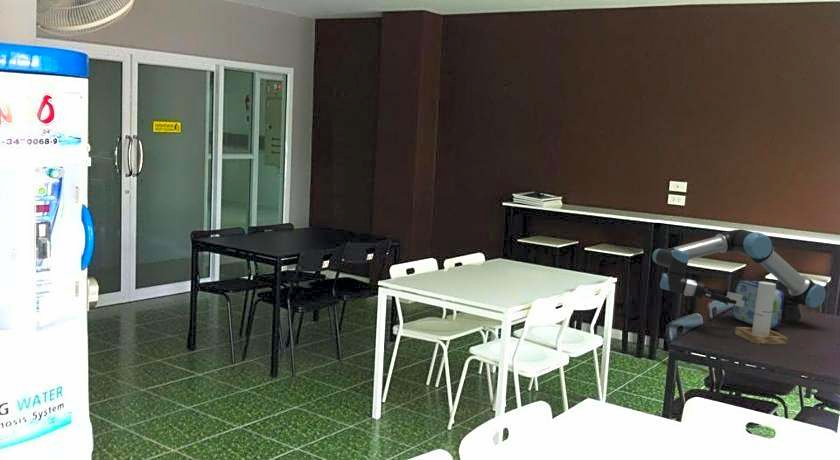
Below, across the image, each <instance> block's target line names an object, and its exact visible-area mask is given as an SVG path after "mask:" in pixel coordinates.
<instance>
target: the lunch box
mask: <svg viewBox="0 0 840 460" xmlns="http://www.w3.org/2000/svg"><path fill="white" fill-rule="evenodd" d="M759 282H760V281H756V280H740V281H739V282H737V285H736V287H735V291H734V293H735V294H739V295H742V299H741V300H742V301H745V302H744V305H743V307H740V306H736V305H732V315H733V317H734V319H736V320H738V321H740V322H743V323H746V324H747V325H750V326H753V321H754V314H755V306H756V299H757V291H758V284H759ZM783 301H784V294H783V292H782V291H781V290H779V289H777V288H775V296H774V303H773V310H772V317H771V325H770V330H777V329H778V327H779V325H780V324H781V323H782V322H781V316H782V308H783Z"/></svg>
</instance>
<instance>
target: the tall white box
mask: <svg viewBox="0 0 840 460" xmlns="http://www.w3.org/2000/svg"><path fill="white" fill-rule="evenodd" d="M758 282H759V284H758V291H757V299H756V306H755V314H754V321H753V325H752V327H751V328H752V334H753V335H758V336H769V332H770V330H771V329H770V325H771V317H772V310H773V303H774V296H775V288H776V284H777V283H774V282H770V281H758Z"/></svg>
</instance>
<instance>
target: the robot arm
mask: <svg viewBox="0 0 840 460" xmlns="http://www.w3.org/2000/svg"><path fill="white" fill-rule="evenodd" d="M772 244H773V243H772V240H771V239H770V237H769V236H768V235H766V234H764V233H761V232H756V231H751V230H746V229H742V228H741V229H733V230H729V231H724V232H721V233H718V234H716V235H715V236H713V237H710V238H705V239H702V240H698V241H697V240H696V241H693V242H690V243H685V244H682V245H679V246H674V247H671V248H670V247H669V248H665V249H664V248H657V249H655V250H653V253H652V261H653V262H654V263H655V264H657V265H658V266H663V267H666V268H668V270H667V272H663V273H662V275H661V279H660V282H659V288H660V289H662V290H665V291H669V292H672V293H677V294H681V295H684V296H685V297H688V296H689V297H693V298H695V299H699V300H701V299H702V298H703V296H704V297H705V298H706V299H707V298H708V299H710V300H714V301H717V302H719V303H723V304H724V305H726V306H728V304H729V305H732V306H733V305H736V306H740V307H743V305H744V302H745V301H742V300H741V299H742V295H739V294H735V292H734V293H733V292H730V291H729V290H728V289H721V288H720V289H719V288H713V287H709V286H706V283H705V282H704V281H703V282H702V281H697V280H694V279H690V278H686V277H685V273H686V270H687V267H688V264H689V260H692V259H693V260H694V259H697V258H701V257H705V256H709V255H713V254H717V253H721V254H724V253H736V254H740V255H744V256H746V257H747V258H748V259H750V260H751V261H752V262H753V263H754V264H760V265H761V266H762V267H763V268H764V269H766V270H767V271H768V272H769V273H770V274H771V275H772V276H774V277H775V278H776V279H777V281H776V283H775V284H776V288H777V289H779V290H781V291H782V292H783V294H784V301H783V308H782V316H781V322H780V323H788V324H800V323H801V322H802V315H801V309H800V305H802V306H806V307H807V308H812V309H813V308H814V309H815V308H818V307H820V306H821V305H822V304H823V303H824V301H825V300H826V295H827V293H826V292H827V291H826V288H825V287H824V286H823V285H821V284H820V283H815V282H814V281H813V280H812V279H810V278H809V277H808V276H807V275H803V274H800V273H799V272H798V271H797V270H796V269H795V268H793V267H792V266H791V264H790V263H788V262H787V261H786V260H785V259H784V258H782V257H781V256H780V255H779V253H777V252H776V251H775V250H774V249H775V248H774V245H772Z"/></svg>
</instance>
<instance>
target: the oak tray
mask: <svg viewBox="0 0 840 460" xmlns="http://www.w3.org/2000/svg"><path fill="white" fill-rule="evenodd" d="M752 328H753V327H749V326H747V327H746V326H744V327H743V326H735V328H734V334H735V336H738V337H740V338H742V339H743V340H746V341H747V340H748V342H749V343H751V344H760V343H761V344H762V345H766V344H767V345H779V346H780V345H782V346H783V345H784V346H786V345H788V344H787V343H788V337H787V336H785V335H782V334H781V333H779V332H777V331H774V330H773V329H770V332H769V336H758V335H753V334H752Z"/></svg>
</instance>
